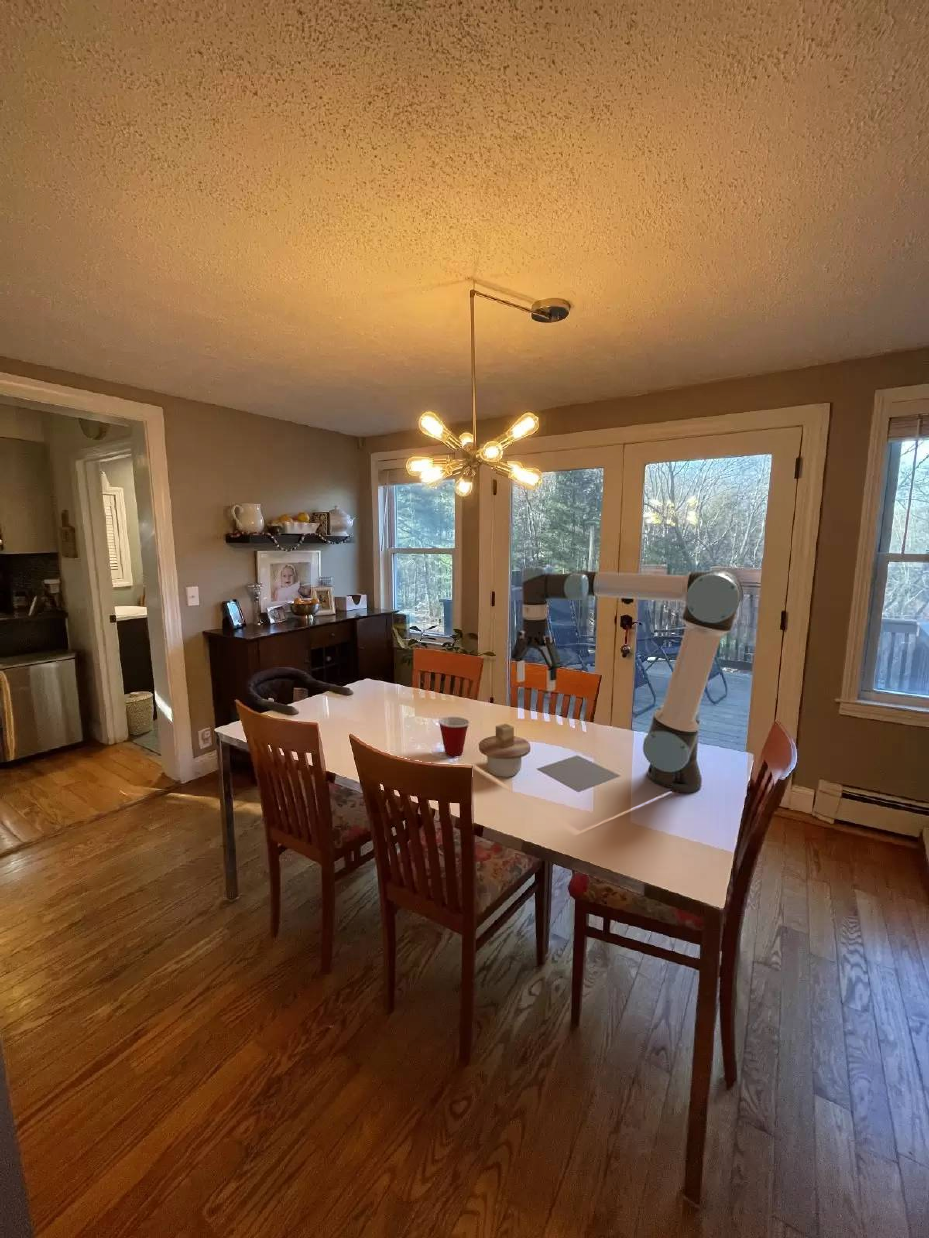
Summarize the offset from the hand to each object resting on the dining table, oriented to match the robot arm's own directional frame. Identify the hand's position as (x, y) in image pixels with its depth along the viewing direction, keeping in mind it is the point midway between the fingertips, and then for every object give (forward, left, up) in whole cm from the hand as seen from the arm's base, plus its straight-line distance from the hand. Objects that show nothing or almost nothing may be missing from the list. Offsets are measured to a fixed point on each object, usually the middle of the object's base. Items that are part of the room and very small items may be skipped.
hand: (535, 685), depth 160 cm
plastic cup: (+24, +15, -28) cm, 39 cm away
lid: (+3, +9, -19) cm, 22 cm away
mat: (-11, -8, -27) cm, 31 cm away
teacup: (+4, +9, -28) cm, 29 cm away
